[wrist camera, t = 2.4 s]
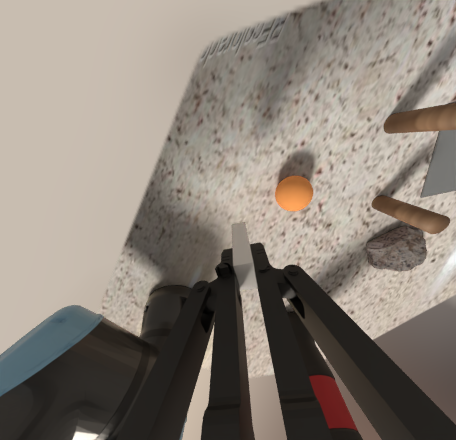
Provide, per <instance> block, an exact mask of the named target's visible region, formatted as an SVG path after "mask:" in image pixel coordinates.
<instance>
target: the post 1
mask: <svg viewBox="0 0 456 440" xmlns="http://www.w3.org/2000/svg"><path fill="white" fill-rule="evenodd" d="M442 130H456V103H451V104H446V105H440V106H434V107H429V108H423V109H417V110H412V111H406V112H400V113H395V114H392V115H391V116H390V117H388V119H387V120H386V122H385V124H384V131H385V132H386V133H389V134H390V133H407V132H425V131H442Z"/></svg>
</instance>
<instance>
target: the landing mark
mask: <svg viewBox="0 0 456 440" xmlns="http://www.w3.org/2000/svg"><path fill="white" fill-rule="evenodd" d="M451 191H456V130H442V131H439V134H438V138H437V141H436V145H435V148H434V152H433V155H432V159H431V162H430V166H429V169H428V173H427V176H426V180H425V183H424V186H423V190H422V193H421V198H422V197H427V196H432V195H437V194H441V193H446V192H451Z"/></svg>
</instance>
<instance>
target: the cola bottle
mask: <svg viewBox="0 0 456 440" xmlns="http://www.w3.org/2000/svg"><path fill="white" fill-rule="evenodd" d="M287 314H288V317H289V320H290V323H291V326H292V329H293V331H294V334H295V337H296V340H297V343H298V346H299V349H300V352H301V355H302V358H303V361H304V364H305V367H306V370H307V373H308V376H309V379H310V382H311V385H312V387H313V390H314V393H315V395H316V397H317V399H318V401H319V403H320V405H321V408H322V410H323V413H324V416H325V419H326V422H327V424H328V427H329V430H330V433H331V436H332V439H333V440H363V439H362V437H361V435H360V434H359V432H358V430H357V428H356V426H355V424H354V421H353V419H352V417H351V415H350V412H349V410H348V408H347V406H346V404H345V402H344V399H343V397H342V395H341V393H340V391H339V388H338V386H337V384H336V382H335V378H334V376H333V374H332V372H331V370H330V369H329V367H328V365H327V364H326V362H325V360H324V358H323V357H322V355H321V353H320V352H319V350H318V348H317V347H316V345H315V341H314V338H313V337H312V336H311V334H310V333H309V331H308V330H307V328H306V327H305V325H304V324H303V322H302V321H301V319H300V318H299V316H298V315H297V313H287Z"/></svg>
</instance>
